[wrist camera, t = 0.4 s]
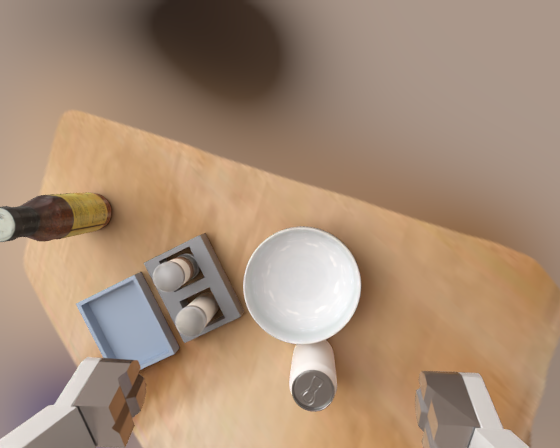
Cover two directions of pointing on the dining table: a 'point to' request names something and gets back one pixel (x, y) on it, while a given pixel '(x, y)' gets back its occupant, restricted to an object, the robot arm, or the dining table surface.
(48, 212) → the sauce bottle
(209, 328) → the block
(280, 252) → the cereal bowl
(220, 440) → the dining table surface
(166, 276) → the fuse
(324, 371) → the can
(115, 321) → the parts tray
